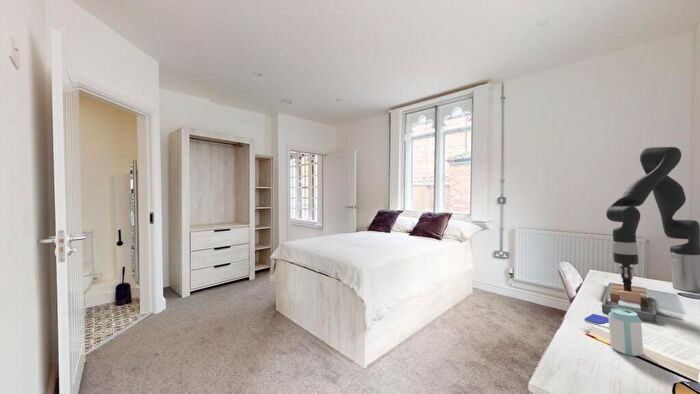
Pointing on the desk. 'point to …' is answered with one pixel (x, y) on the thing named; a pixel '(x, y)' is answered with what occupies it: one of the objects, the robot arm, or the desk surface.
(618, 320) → the can
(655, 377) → the desk surface
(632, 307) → the tile
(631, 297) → the tile
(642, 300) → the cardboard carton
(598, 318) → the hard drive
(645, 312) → the box
